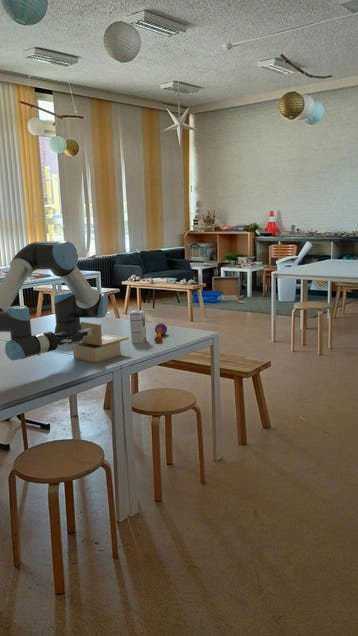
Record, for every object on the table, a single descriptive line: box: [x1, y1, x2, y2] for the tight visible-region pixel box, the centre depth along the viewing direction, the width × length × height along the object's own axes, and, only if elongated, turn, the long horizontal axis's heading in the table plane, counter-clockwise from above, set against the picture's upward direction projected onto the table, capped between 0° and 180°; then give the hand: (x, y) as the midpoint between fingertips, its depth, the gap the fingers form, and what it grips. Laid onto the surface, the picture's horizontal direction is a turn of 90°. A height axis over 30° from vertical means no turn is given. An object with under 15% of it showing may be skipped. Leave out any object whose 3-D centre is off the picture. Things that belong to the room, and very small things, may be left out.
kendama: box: [154, 323, 168, 344], centre depth 273 cm, size 6×6×20 cm
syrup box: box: [128, 309, 147, 344], centre depth 266 cm, size 6×6×14 cm
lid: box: [79, 321, 130, 346], centre depth 243 cm, size 15×15×9 cm
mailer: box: [72, 341, 122, 364], centre depth 241 cm, size 14×14×6 cm
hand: (91, 331), depth 237 cm, fingers closed
